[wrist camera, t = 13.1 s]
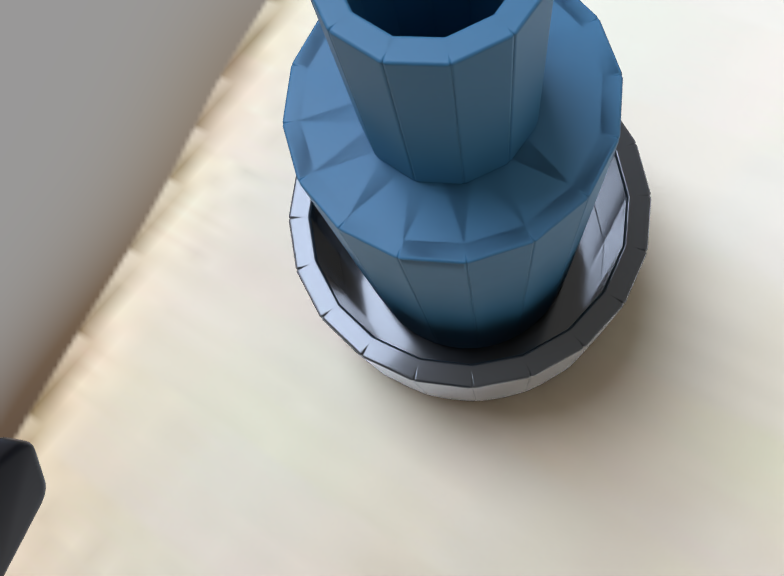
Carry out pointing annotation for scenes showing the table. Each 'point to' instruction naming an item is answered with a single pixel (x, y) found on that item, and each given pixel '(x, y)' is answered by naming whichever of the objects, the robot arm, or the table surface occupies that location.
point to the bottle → (456, 151)
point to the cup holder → (512, 357)
